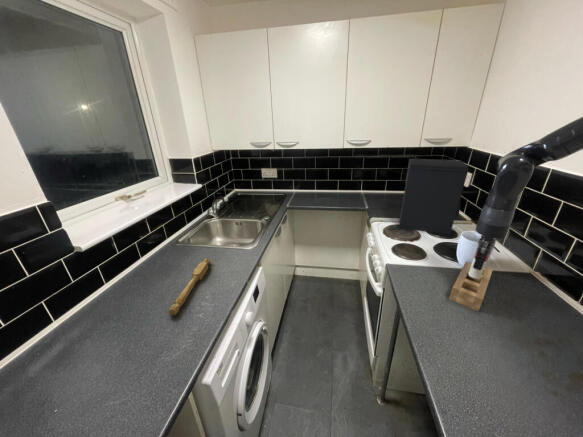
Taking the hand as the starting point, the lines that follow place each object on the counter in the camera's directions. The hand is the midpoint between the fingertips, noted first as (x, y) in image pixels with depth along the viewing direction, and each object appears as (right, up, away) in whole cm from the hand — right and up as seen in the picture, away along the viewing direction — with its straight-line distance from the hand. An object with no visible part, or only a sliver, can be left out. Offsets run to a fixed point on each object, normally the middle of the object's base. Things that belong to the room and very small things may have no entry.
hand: (478, 265), depth 78 cm
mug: (+11, -3, +18) cm, 21 cm away
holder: (0, -9, +4) cm, 10 cm away
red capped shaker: (0, -4, +2) cm, 4 cm away
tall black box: (+13, +12, +52) cm, 55 cm away
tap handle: (-102, -10, +12) cm, 103 cm away
